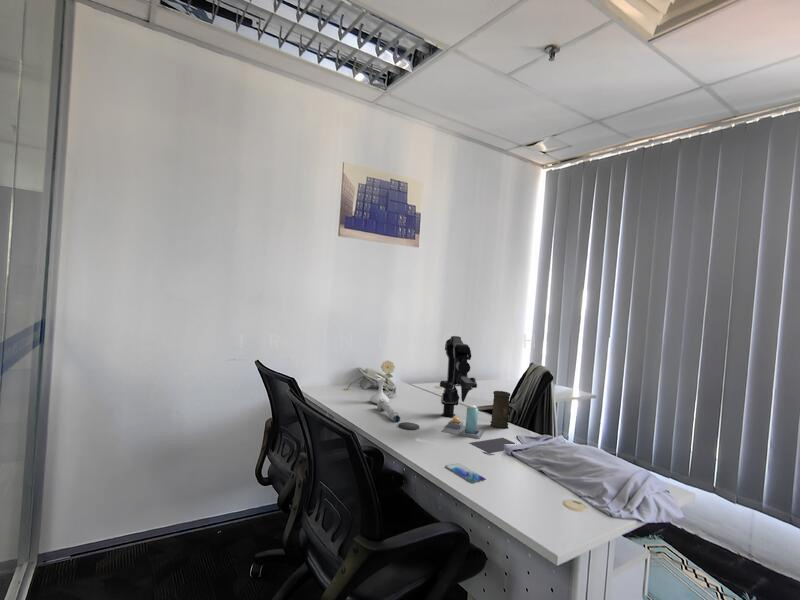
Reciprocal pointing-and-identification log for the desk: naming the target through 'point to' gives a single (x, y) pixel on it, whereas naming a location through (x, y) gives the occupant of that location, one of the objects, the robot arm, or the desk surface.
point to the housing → (461, 430)
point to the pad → (408, 426)
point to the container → (500, 410)
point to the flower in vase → (387, 368)
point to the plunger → (455, 420)
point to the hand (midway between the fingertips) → (457, 401)
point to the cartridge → (471, 419)
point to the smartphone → (465, 473)
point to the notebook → (492, 445)
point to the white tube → (388, 410)
